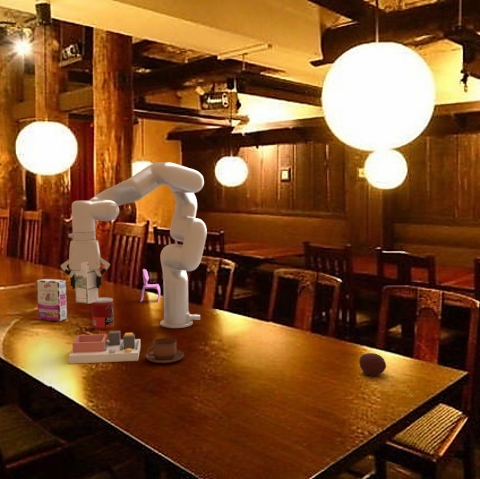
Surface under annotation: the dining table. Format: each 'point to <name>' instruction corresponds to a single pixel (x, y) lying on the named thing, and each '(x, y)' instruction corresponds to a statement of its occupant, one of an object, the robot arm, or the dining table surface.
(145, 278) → the toy chair
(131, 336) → the tagged breaker
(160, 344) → the cup and saucer
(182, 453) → the dining table surface
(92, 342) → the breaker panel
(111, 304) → the canned food
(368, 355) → the potato
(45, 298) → the candy bar box
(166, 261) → the robot arm
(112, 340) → the block
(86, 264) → the syrup box
